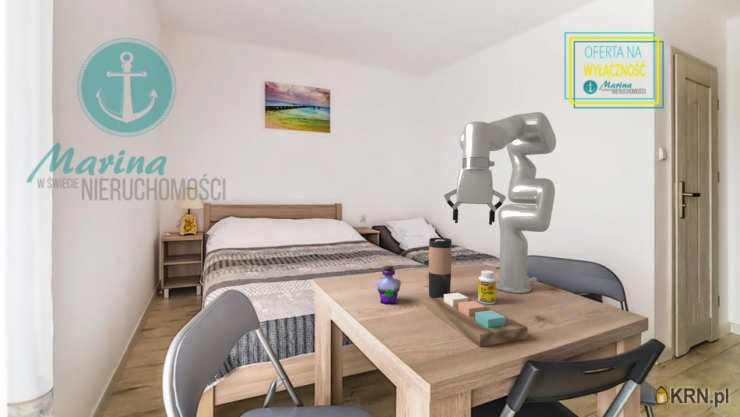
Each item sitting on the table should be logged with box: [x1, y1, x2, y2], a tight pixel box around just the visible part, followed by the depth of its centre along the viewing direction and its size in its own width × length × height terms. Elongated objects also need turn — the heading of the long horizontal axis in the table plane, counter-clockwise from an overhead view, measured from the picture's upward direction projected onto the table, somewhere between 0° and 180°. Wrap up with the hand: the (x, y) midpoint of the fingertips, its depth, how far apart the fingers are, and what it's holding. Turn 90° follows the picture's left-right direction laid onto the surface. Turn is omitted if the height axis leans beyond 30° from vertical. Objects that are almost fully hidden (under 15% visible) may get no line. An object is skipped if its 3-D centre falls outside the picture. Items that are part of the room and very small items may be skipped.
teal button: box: [475, 310, 505, 328], centre depth 89 cm, size 5×5×3 cm
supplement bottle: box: [477, 269, 497, 305], centre depth 113 cm, size 6×6×10 cm
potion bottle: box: [375, 265, 402, 306], centre depth 113 cm, size 9×9×12 cm
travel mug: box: [428, 237, 452, 299], centre depth 119 cm, size 8×8×20 cm
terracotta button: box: [458, 301, 485, 317], centre depth 96 cm, size 5×5×3 cm
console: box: [425, 294, 529, 348], centre depth 96 cm, size 14×27×3 cm, turn 18°
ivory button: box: [444, 292, 469, 307], centre depth 104 cm, size 5×5×3 cm
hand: (473, 223), depth 101 cm, fingers open, 9 cm apart
